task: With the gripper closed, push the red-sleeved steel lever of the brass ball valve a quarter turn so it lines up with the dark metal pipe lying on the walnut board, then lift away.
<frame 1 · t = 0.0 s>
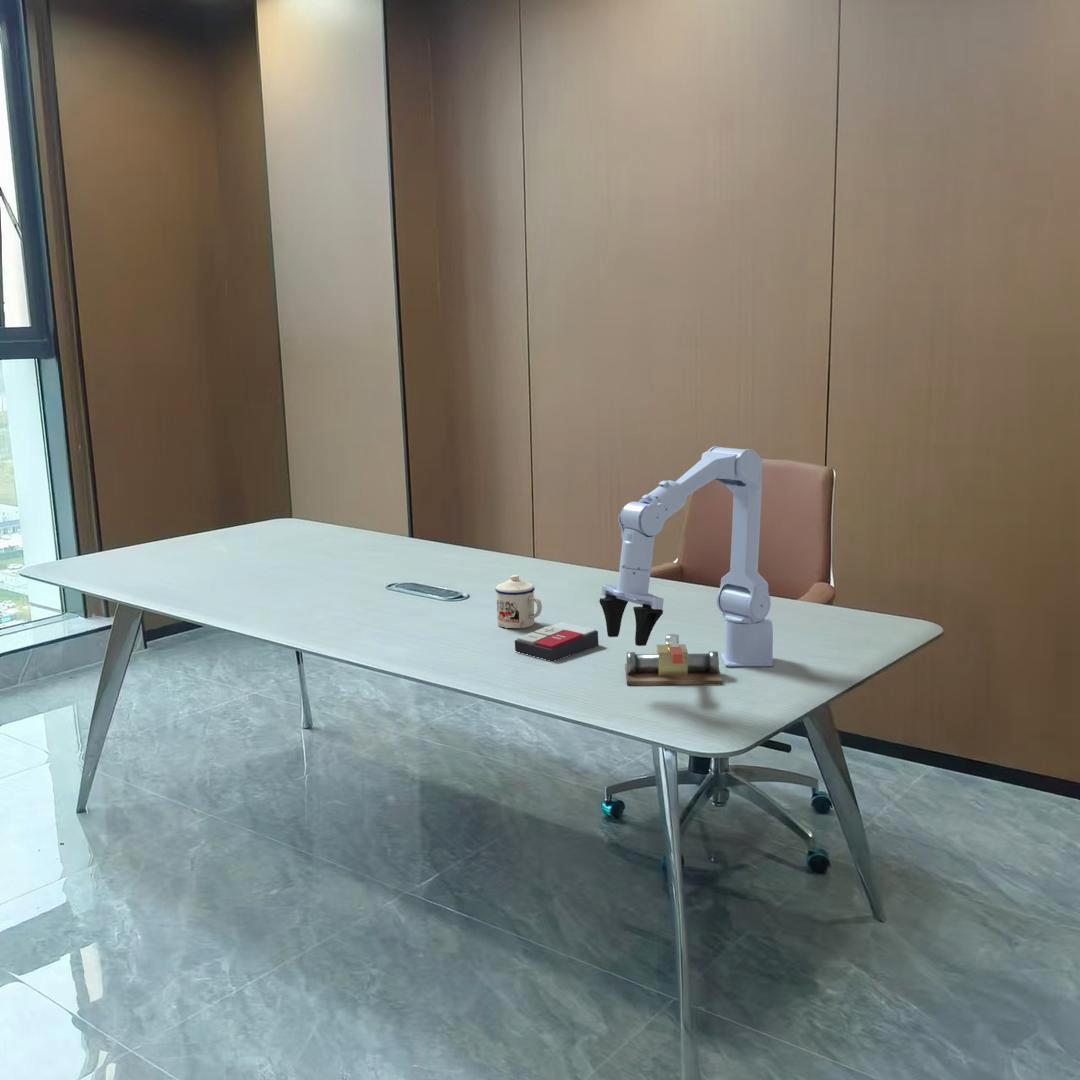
hand: (626, 641, 196), 11 cm above the table, tool pointing down, fingers open, 7 cm apart
calculator: (557, 651, 229), on the table
board: (672, 675, 209), on the table
lever: (674, 647, 202), point 8 cm above the table, hinge at 0.0°
valve: (672, 675, 209), resting on board
teacup with lid: (520, 626, 248), on the table
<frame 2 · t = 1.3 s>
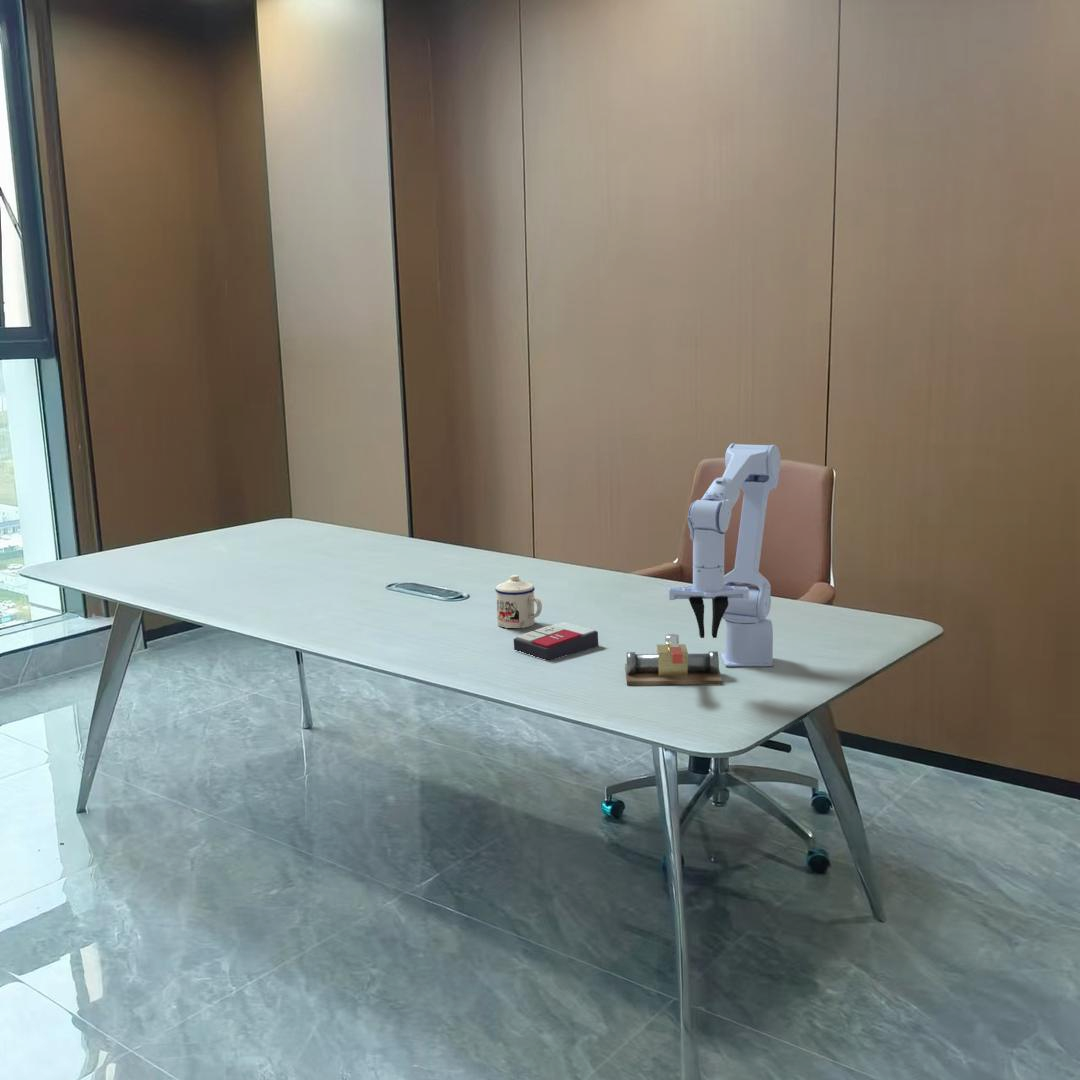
hand: (708, 636, 199), 10 cm above the table, tool pointing down, fingers closed
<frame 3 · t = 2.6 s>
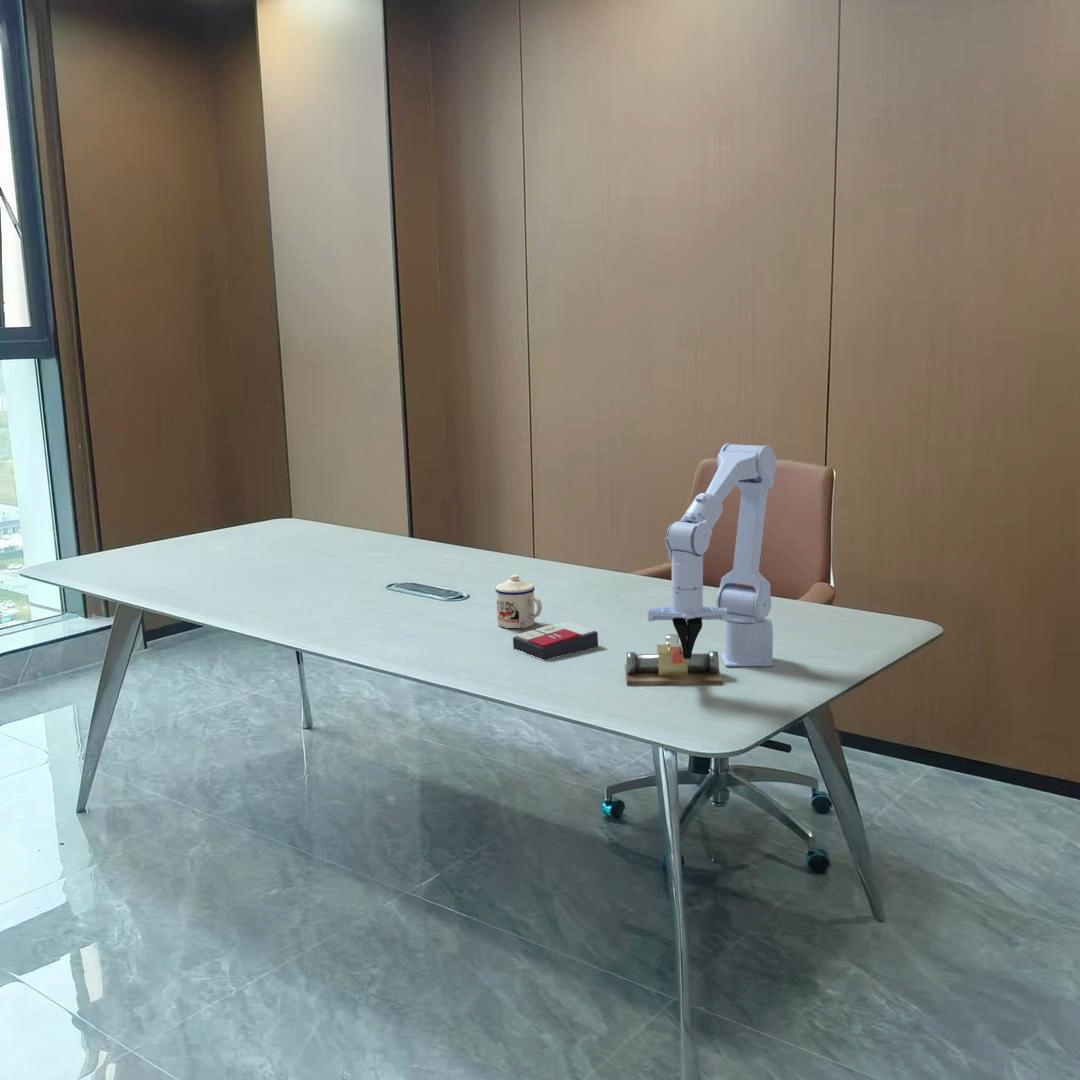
hand: (687, 657, 200), 6 cm above the table, tool pointing down, fingers closed
lever: (674, 647, 202), point 8 cm above the table, hinge at 0.0°, touching gripper
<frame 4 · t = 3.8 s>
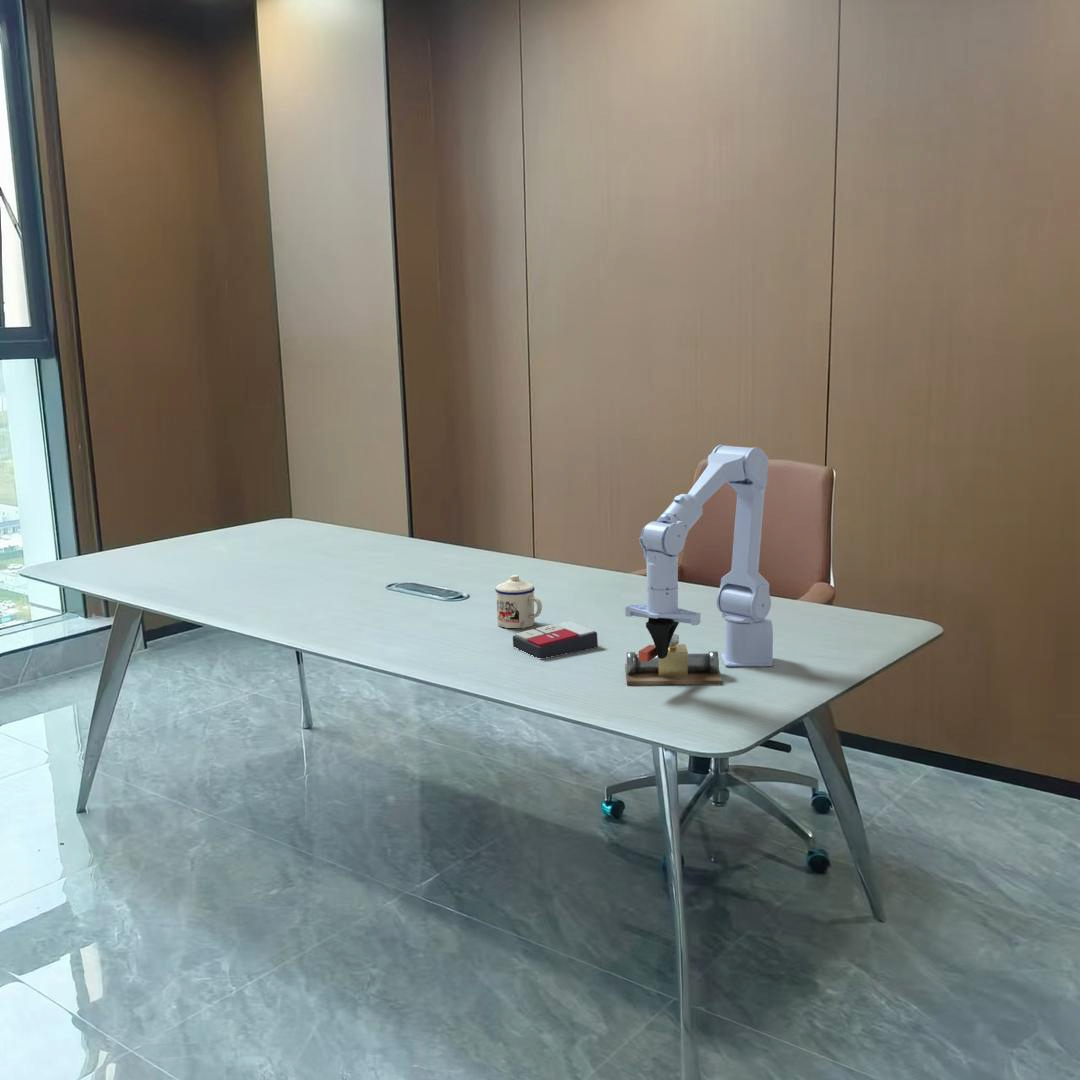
hand: (662, 657, 200), 6 cm above the table, tool pointing down, fingers closed
lever: (659, 646, 203), point 8 cm above the table, hinge at 28.8°, touching gripper
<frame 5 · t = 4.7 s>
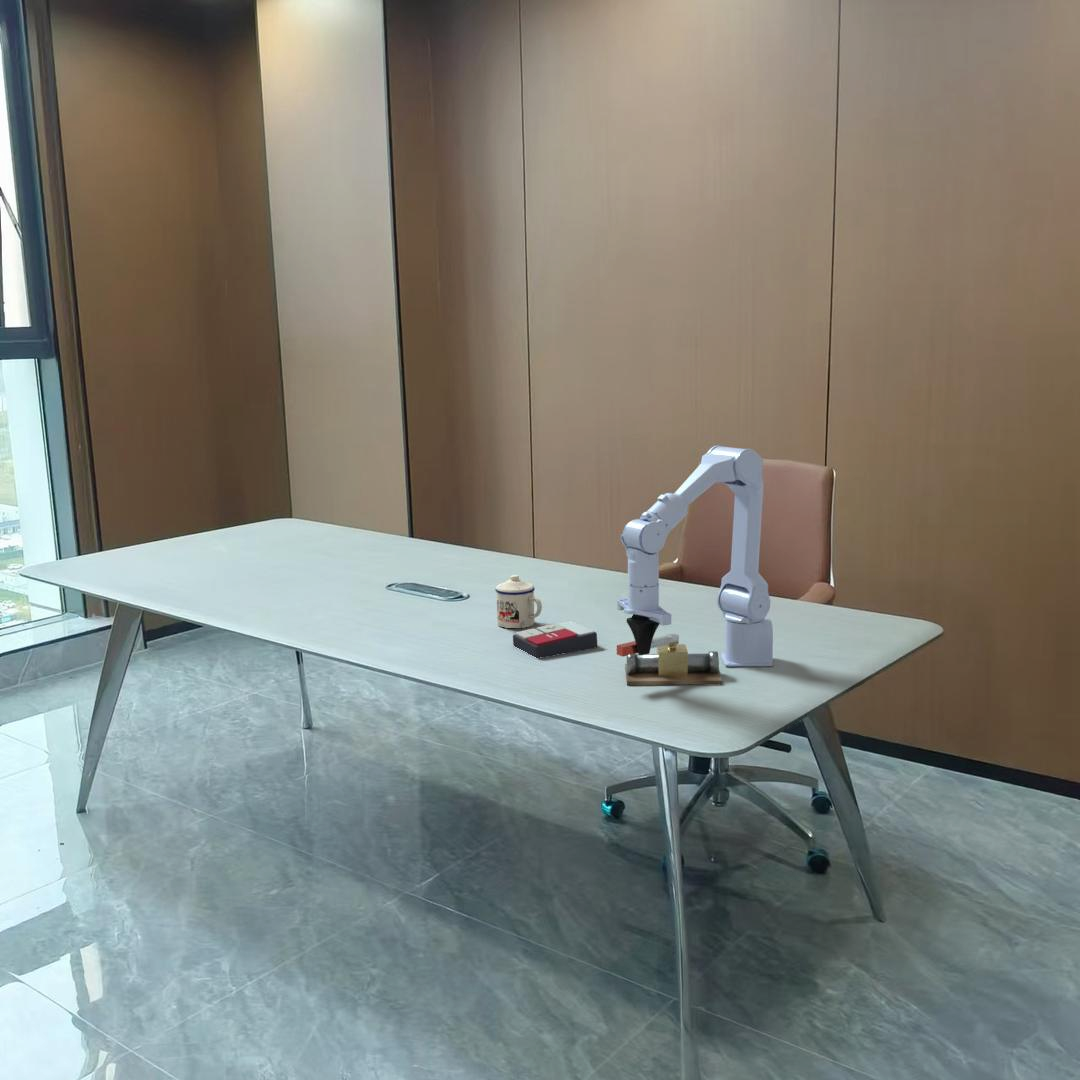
hand: (643, 654, 202), 6 cm above the table, tool pointing down, fingers closed
lever: (648, 644, 205), point 8 cm above the table, hinge at 53.8°, touching gripper
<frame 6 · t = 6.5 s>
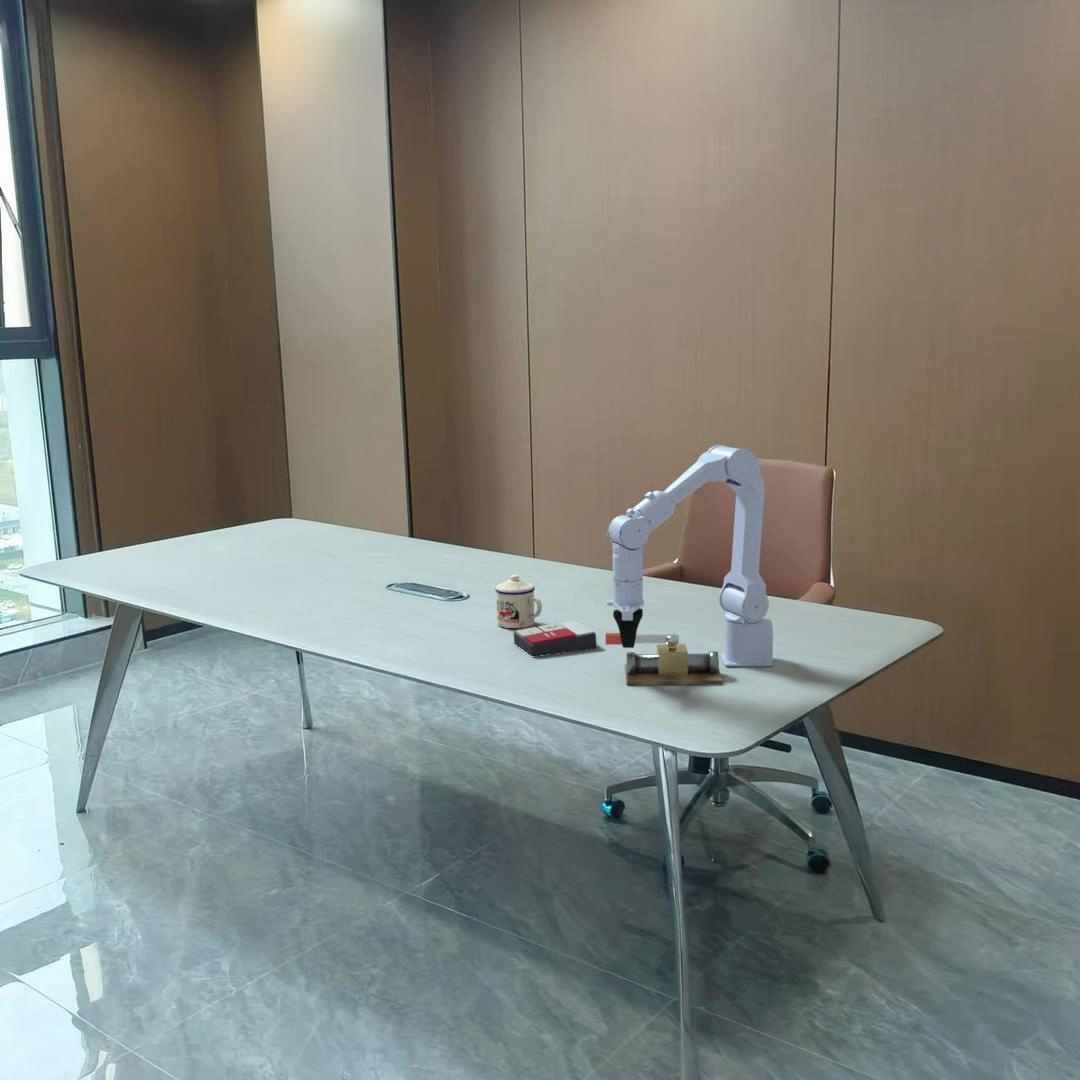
hand: (628, 647, 207), 6 cm above the table, tool pointing down, fingers closed
lever: (642, 638, 208), point 8 cm above the table, hinge at 92.3°, touching gripper
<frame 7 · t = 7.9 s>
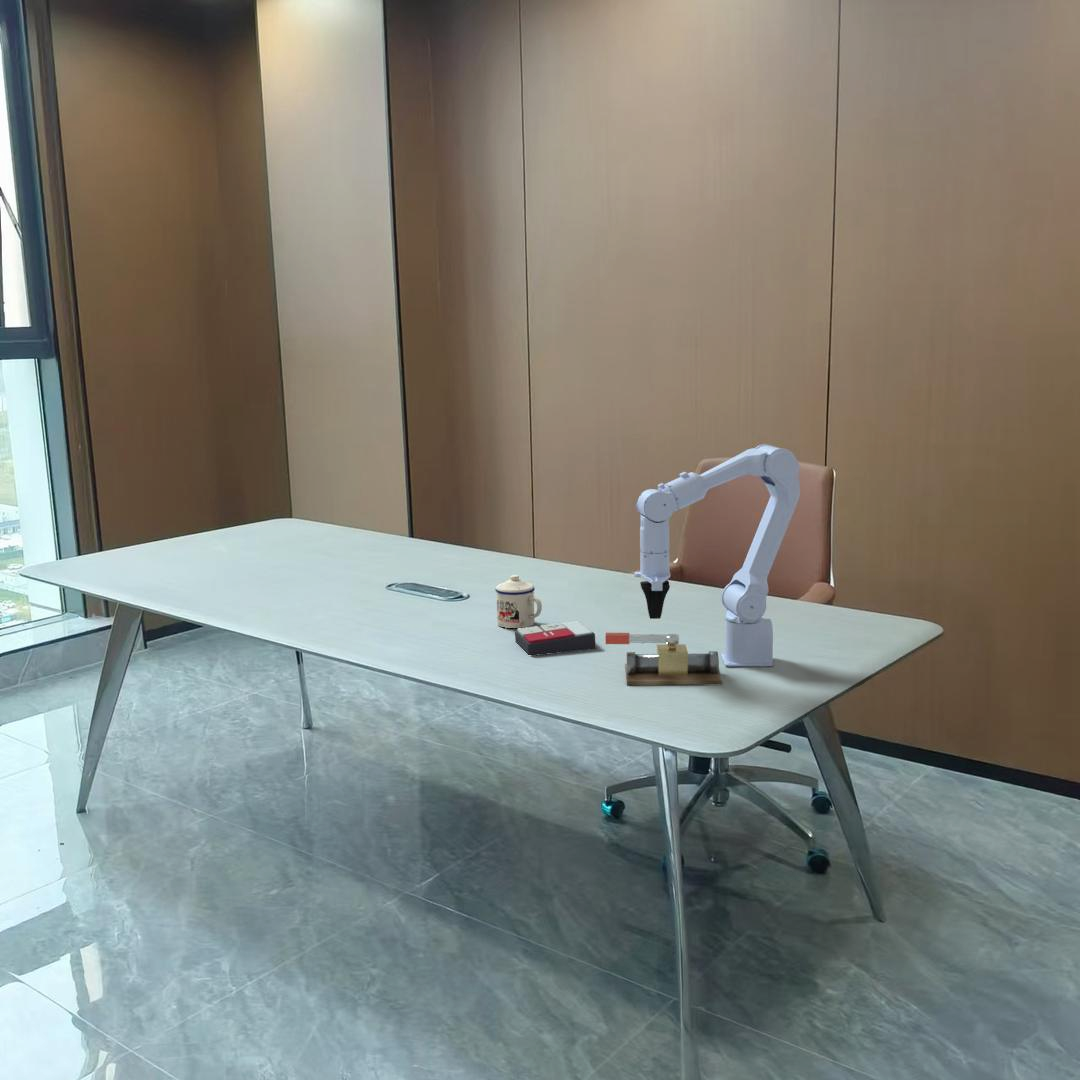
hand: (654, 617, 212), 10 cm above the table, tool pointing down, fingers closed
lever: (642, 638, 208), point 8 cm above the table, hinge at 93.8°
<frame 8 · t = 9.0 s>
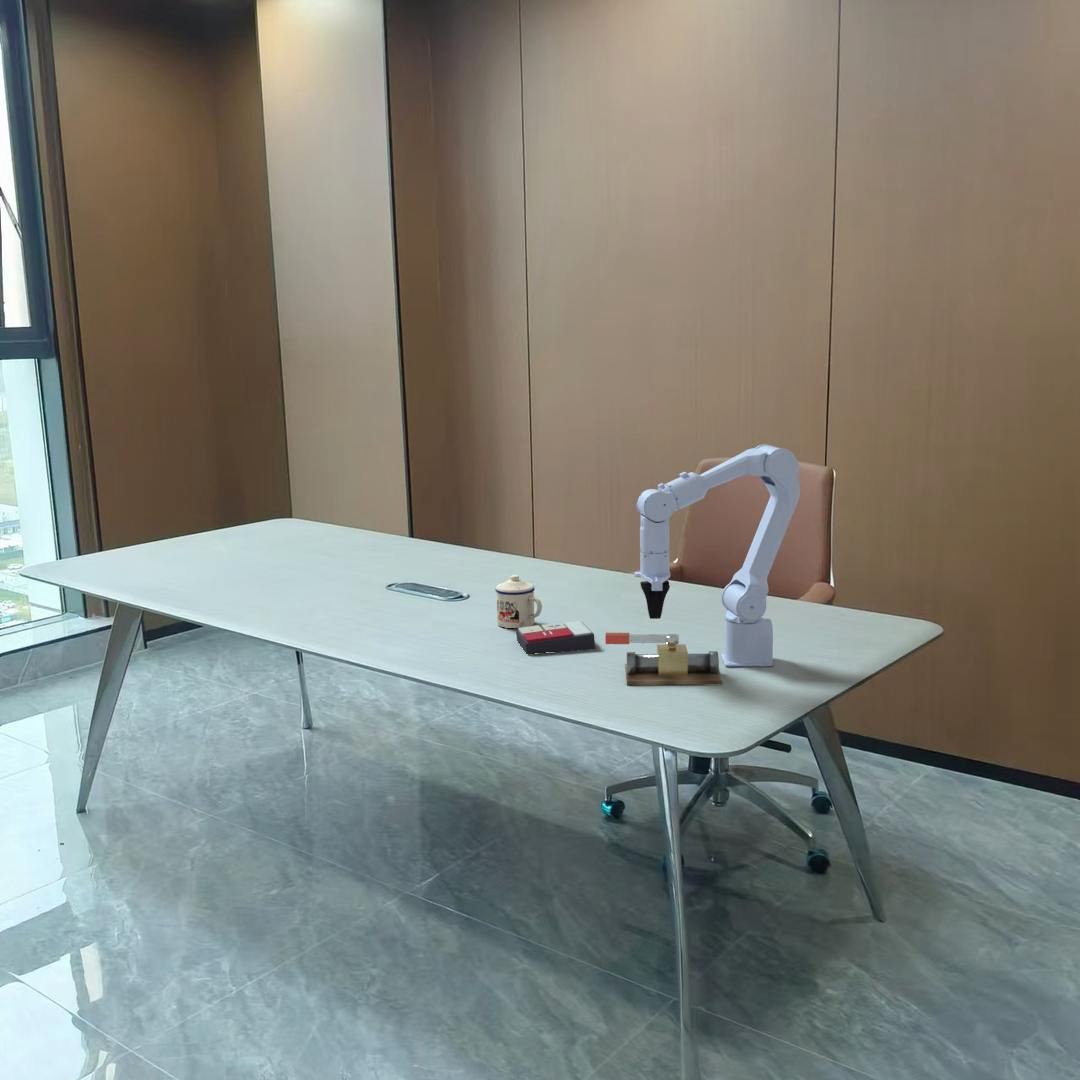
hand: (654, 617, 212), 10 cm above the table, tool pointing down, fingers closed
at the end: lever at +94° (first picture: +0°) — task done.
